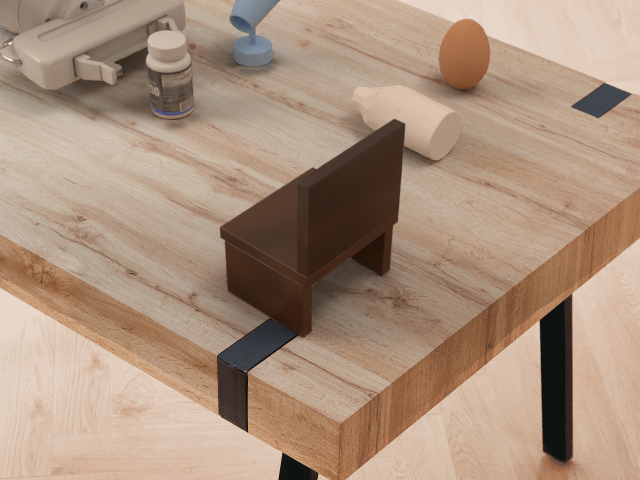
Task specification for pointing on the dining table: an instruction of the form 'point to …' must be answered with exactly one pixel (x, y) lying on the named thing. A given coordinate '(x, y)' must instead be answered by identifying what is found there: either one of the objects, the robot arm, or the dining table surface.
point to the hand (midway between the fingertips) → (151, 59)
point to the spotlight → (251, 32)
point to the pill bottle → (169, 75)
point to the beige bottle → (411, 118)
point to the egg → (464, 54)
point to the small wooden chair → (317, 228)
